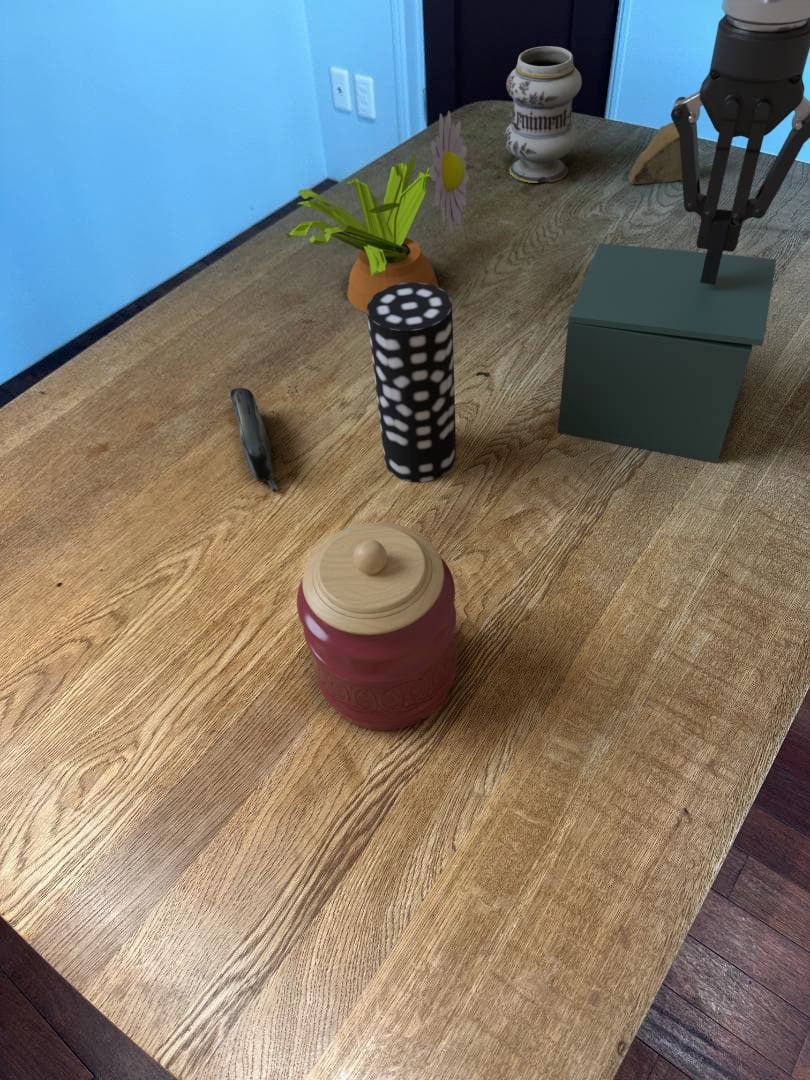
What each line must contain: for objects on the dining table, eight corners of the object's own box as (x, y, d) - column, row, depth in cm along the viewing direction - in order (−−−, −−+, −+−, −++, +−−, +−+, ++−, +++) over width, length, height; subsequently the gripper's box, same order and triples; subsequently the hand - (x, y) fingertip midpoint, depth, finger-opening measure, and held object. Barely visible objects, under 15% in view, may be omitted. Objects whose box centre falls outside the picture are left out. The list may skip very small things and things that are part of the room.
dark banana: (225, 387, 97) (248, 465, 87) (249, 381, 98) (275, 457, 88) (234, 420, 101) (257, 498, 91) (258, 414, 101) (284, 491, 91)
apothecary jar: (514, 192, 134) (519, 74, 121) (494, 162, 142) (496, 47, 129) (584, 181, 136) (596, 62, 122) (560, 151, 143) (569, 37, 130)
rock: (622, 178, 130) (688, 176, 126) (628, 121, 128) (694, 116, 125) (631, 194, 140) (692, 191, 136) (637, 140, 138) (699, 137, 135)
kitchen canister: (469, 624, 78) (467, 495, 65) (442, 746, 70) (434, 627, 56) (339, 605, 80) (312, 477, 67) (299, 720, 72) (259, 600, 59)
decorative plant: (440, 350, 107) (433, 159, 88) (275, 327, 113) (235, 143, 94) (491, 247, 123) (494, 67, 105) (344, 231, 130) (322, 59, 111)
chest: (732, 382, 99) (765, 270, 88) (717, 463, 90) (751, 350, 79) (585, 358, 104) (598, 249, 93) (557, 432, 95) (567, 322, 84)
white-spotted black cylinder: (447, 427, 97) (442, 277, 82) (463, 475, 91) (460, 323, 76) (379, 439, 96) (361, 289, 81) (390, 487, 91) (373, 336, 76)
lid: (774, 266, 87) (776, 259, 86) (762, 346, 78) (763, 339, 77) (598, 249, 93) (599, 242, 92) (568, 322, 84) (568, 315, 83)
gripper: (679, 29, 66) (638, 288, 83) (854, 35, 62) (773, 305, 80) (691, -2, 70) (650, 250, 88) (856, 3, 66) (778, 265, 84)
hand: (709, 276), depth 84 cm, fingers closed
